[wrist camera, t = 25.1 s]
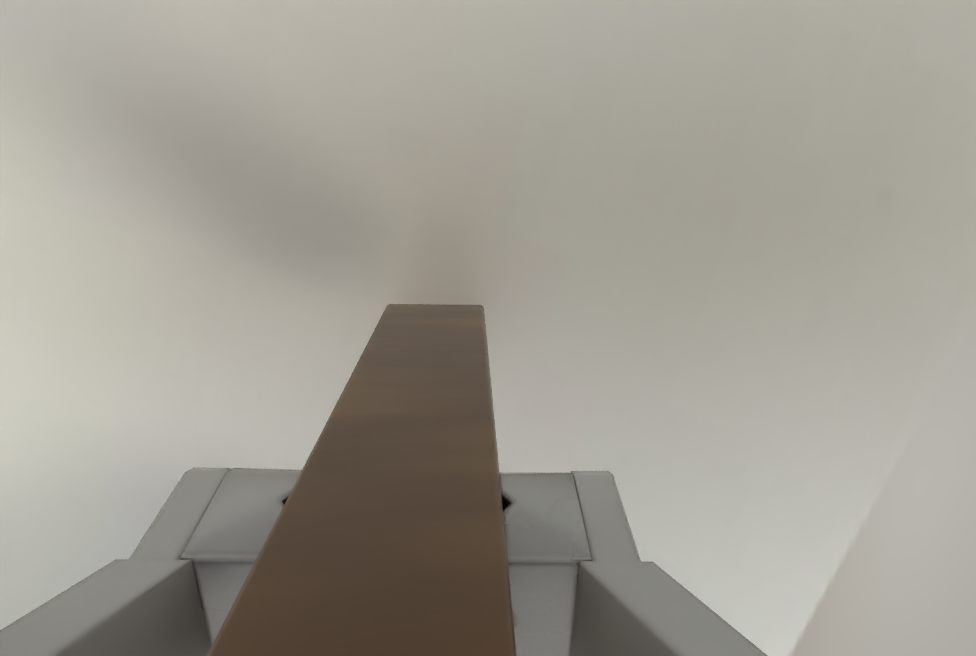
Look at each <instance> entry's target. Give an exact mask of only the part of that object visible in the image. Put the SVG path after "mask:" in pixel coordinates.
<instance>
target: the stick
mask: <svg viewBox="0 0 976 656" xmlns="http://www.w3.org/2000/svg"><path fill="white" fill-rule="evenodd" d="M207 656H517V654H516V643H515V633H514V622H513V611H512V601H511V590H510V580H509V569H508V558H507V548H506V537H505V526H504V516H503V505H502V495H501V484H500V473H499V463H498V452H497V442H496V431H495V420H494V410H493V399H492V389H491V378H490V367H489V357H488V346H487V335H486V325H485V314H484V307H483V306H482V305H430V304H389V305H387V307H386V309H385V311H384V312H383V314H382V316H381V318H380V320H379V322H378V324H377V326H376V328H375V330H374V332H373V334H372V336H371V338H370V340H369V342H368V343H367V345H366V347H365V349H364V351H363V353H362V355H361V357H360V359H359V361H358V363H357V365H356V367H355V369H354V371H353V373H352V375H351V376H350V378H349V380H348V382H347V384H346V386H345V388H344V390H343V392H342V394H341V396H340V398H339V400H338V402H337V404H336V406H335V407H334V409H333V411H332V413H331V415H330V417H329V419H328V421H327V423H326V425H325V427H324V429H323V431H322V433H321V435H320V437H319V439H318V440H317V442H316V444H315V446H314V448H313V450H312V452H311V454H310V456H309V458H308V460H307V462H306V464H305V466H304V468H303V470H302V471H301V473H300V475H299V477H298V479H297V481H296V483H295V485H294V487H293V489H292V491H291V493H290V495H289V497H288V499H287V501H286V503H285V504H284V506H283V508H282V510H281V512H280V514H279V516H278V518H277V520H276V522H275V524H274V526H273V528H272V530H271V532H270V534H269V535H268V537H267V539H266V541H265V543H264V545H263V547H262V549H261V551H260V553H259V555H258V557H257V559H256V561H255V563H254V565H253V567H252V568H251V570H250V572H249V574H248V576H247V578H246V580H245V582H244V584H243V586H242V588H241V590H240V592H239V594H238V596H237V598H236V599H235V601H234V603H233V605H232V607H231V609H230V611H229V613H228V615H227V617H226V619H225V621H224V623H223V625H222V627H221V629H220V631H219V632H218V634H217V636H216V638H215V640H214V642H213V644H212V646H211V648H210V650H209V652H208V654H207Z"/></svg>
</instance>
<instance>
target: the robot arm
mask: <svg viewBox="0 0 976 656" xmlns="http://www.w3.org/2000/svg"><path fill="white" fill-rule="evenodd" d="M301 471H302V470H284V469H251V468H233V469H230V468H192V469H190V470H188V471H187V472H185V473H184V474H183V476H182V477H181V479H180V481H179V482H178V484H177V485H176V487H175V488H174V490H173V491H172V493H171V495H170V496H169V498H168V499H167V501H166V502H165V504H164V505H163V507H162V509H161V510H160V512H159V513H158V515H157V516H156V518H155V519H154V521H153V523H152V524H151V526H150V527H149V529H148V530H147V532H146V534H145V535H144V537H143V538H142V540H141V541H140V543H139V544H138V546H137V548H136V549H135V551H134V552H133V554H132V555H131V557H130V558H129V560H114V561H113V562H111V563H110V564H108V565H106V566H105V567H103V568H101V569H100V570H98V571H97V572H95V573H93V574H92V575H90V576H88V577H87V578H85V579H83V580H82V581H80V582H79V583H77V584H75V585H74V586H72V587H70V588H69V589H67V590H66V591H64V592H62V593H61V594H59V595H57V596H56V597H54V598H53V599H51V600H49V601H48V602H46V603H44V604H43V605H41V606H39V607H38V608H36V609H35V610H33V611H31V612H30V613H28V614H26V615H25V616H23V617H22V618H20V619H18V620H17V621H15V622H13V623H12V624H10V625H9V626H7V627H5V628H4V629H2V630H0V656H207V654H208V652H209V650H210V648H211V646H212V644H213V642H214V640H215V638H216V636H217V634H218V632H219V631H220V629H221V627H222V625H223V623H224V621H225V619H226V617H227V615H228V613H229V611H230V609H231V607H232V605H233V603H234V601H235V599H236V598H237V596H238V594H239V592H240V590H241V588H242V586H243V584H244V582H245V580H246V578H247V576H248V574H249V572H250V570H251V568H252V567H253V565H254V563H255V561H256V559H257V557H258V555H259V553H260V551H261V549H262V547H263V545H264V543H265V541H266V539H267V537H268V535H269V534H270V532H271V530H272V528H273V526H274V524H275V522H276V520H277V518H278V516H279V514H280V512H281V510H282V508H283V506H284V504H285V503H286V501H287V499H288V497H289V495H290V493H291V491H292V489H293V487H294V485H295V483H296V481H297V479H298V477H299V475H300V473H301ZM499 473H500V484H501V495H502V505H503V516H504V526H505V537H506V548H507V558H508V569H509V580H510V590H511V601H512V611H513V622H514V633H515V643H516V654H517V656H767V655H766V654H765V653H764V652H762V651H761V650H760V649H759V648H757V647H756V646H755V645H754V644H753V643H751V642H750V641H749V640H748V639H746V638H745V637H744V636H743V635H742V634H740V633H739V632H738V631H737V630H735V629H734V628H733V627H732V626H731V625H729V624H728V623H727V622H726V621H725V620H723V619H722V618H721V617H720V616H718V615H717V614H716V613H715V612H714V611H712V610H711V609H710V608H709V607H707V606H706V605H705V604H704V603H703V602H701V601H700V600H699V599H698V598H696V597H695V596H694V595H693V594H692V593H690V592H689V591H688V590H687V589H685V588H684V587H683V586H682V585H681V584H679V583H678V582H677V581H676V580H674V579H673V578H672V577H671V576H670V575H668V574H667V573H666V572H665V571H663V570H662V569H661V568H660V567H659V566H657V565H656V564H655V563H654V562H641V560H640V557H639V554H638V551H637V548H636V545H635V542H634V539H633V535H632V532H631V529H630V526H629V523H628V520H627V517H626V514H625V511H624V508H623V504H622V501H621V498H620V495H619V492H618V489H617V486H616V483H615V480H614V476H613V475H612V474H611V473H610V472H609V471H571V473H501V472H499Z"/></svg>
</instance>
